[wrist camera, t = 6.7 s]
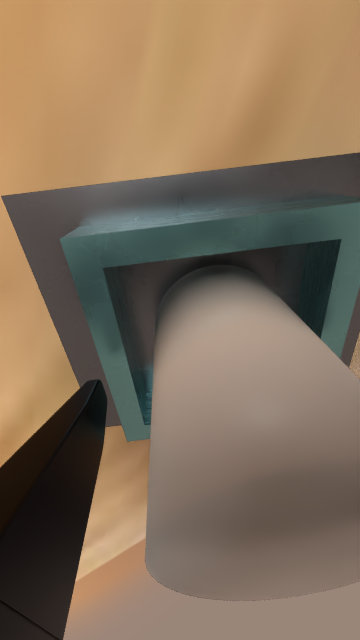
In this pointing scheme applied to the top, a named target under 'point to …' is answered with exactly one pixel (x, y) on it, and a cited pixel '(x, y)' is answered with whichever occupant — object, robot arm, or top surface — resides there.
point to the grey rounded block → (249, 446)
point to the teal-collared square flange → (189, 259)
